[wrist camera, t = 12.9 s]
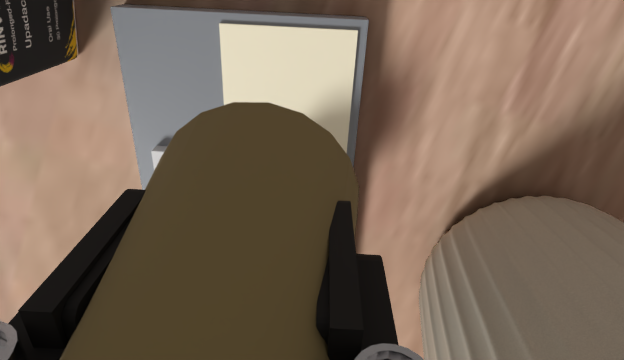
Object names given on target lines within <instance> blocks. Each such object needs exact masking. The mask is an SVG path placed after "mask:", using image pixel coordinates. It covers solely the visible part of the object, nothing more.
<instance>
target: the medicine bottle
mask: <svg viewBox="0 0 624 360" xmlns="http://www.w3.org/2000/svg"><path fill="white" fill-rule="evenodd" d="M77 56H78V42H77V31H76V19H75V8H74V0H0V86H3V85H5V84H8V83H11V82H14V81H16V80H19V79H22V78H24V77H27V76H30V75H32V74H35V73H38V72H41V71H43V70H46V69H49V68H51V67H54V66H57V65H59V64H62V63H65V62H68V61H70V60H73V59H75V58H76V57H77Z"/></svg>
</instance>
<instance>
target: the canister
mask: <svg viewBox="0 0 624 360" xmlns="http://www.w3.org/2000/svg"><path fill="white" fill-rule="evenodd" d="M419 309H420V320H421V331H422V342H423V352H424V360H624V223H623V222H622V221H620V220H618V219H617V218H615V217H613V216H611V215H609V214H607V213H605V212H603V211H600V210H598V209H597V208H595V207H593V206H590V205H588V204H585V203H581V202H575V201H573V200H571V199H567V198H562V197H561V198H554V197H551V196H546V195H545V196H539V197H533V196H525V197H522V198H517V199H514V198H509V199H508V200H506V201H503V202H499V203H493V204H492V205H490V206H487V207H485V208H480V209H478V210H477V211H476V212H475V213H473V214H471V215H469V216H465V217H464V219H463V220H461V221H460V222H459V223H457V224H455V225H453V226H452V228H451V229H450V231H448V232H447V233H446V234H444V235H443V236H442V237H441V239H440V241H439V243H438V244H436V245H435V246H434V247H433V249H432V252H431V255H430V256H429V257H428V258H427V260H426V263H425V268H424V270H423V272H422V275H421V281H420V290H419Z"/></svg>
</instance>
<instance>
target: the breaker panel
mask: <svg viewBox="0 0 624 360" xmlns="http://www.w3.org/2000/svg"><path fill="white" fill-rule="evenodd" d="M110 8H111V14H112V19H113V25H114V31H115V36H116V42H117V48H118V53H119V59H120V65H121V71H122V76H123V82H124V88H125V93H126V99H127V105H128V110H129V116H130V122H131V128H132V133H133V139H134V145H135V150H136V156H137V162H138V167H139V173H140V179H141V185H142V190H145V188H146V186H147V184H148V182H149V180H150V178H151V176H152V174H153V172H154V170H155V168H156V166H157V164H158V162H159V160H160V158H161V156H162V155H163V153H164V151H165V150H166V148H167V146H168V145H169V143H170V141H171V140H172V138H173V136H174V135H175V133H176V132H177V131H178V130H179V129H180V128H182V127H183V126H184V125H186V124H187V123H188V122H189V121H191V120H192V119H193V118H195V117H196V116H197V115H199V114H200V113H201V112H204V111H207V110H211V109H214V108H217V107H220V106H223V105H226V104H229V103H232V102H269V103H272V104H275V105H278V106H281V107H285V108H288V109H291V110H294V111H297V112H300V113H303V114H304V115H306V116H307V117H309V118H310V119H312V120H313V121H314V122H316V123H317V124H319V125H320V126H322V127H323V128H325V129H326V130H327V131H329V132H330V133H331V134H332V135H333V136H334V138H335V139H336V140H337V142H338V143H339V144H340V146H341V147H342V148H343V150H344V151H345V152H346V154H347V155H348V156H349V158H350V160H351V163H352V166H353V167H354V157H355V147H356V138H357V128H358V118H359V109H360V99H361V89H362V80H363V70H364V60H365V51H366V41H367V32H368V22H369V20H368V19H367V17H361V16H341V15H322V14H303V13H283V12H264V11H244V10H225V9H206V8H186V7H167V6H147V5H128V4H122V5H117V6H112V7H110Z"/></svg>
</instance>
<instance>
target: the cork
mask: <svg viewBox="0 0 624 360" xmlns="http://www.w3.org/2000/svg"><path fill="white" fill-rule="evenodd" d="M145 190H146V191H145V193H144V195H143V197H142V199H141V201H140V203H139V205H138V207H137V209H136V211H135V213H134V215H133V217H132V219H131V221H130V223H129V225H128V227H127V229H126V231H125V233H124V235H123V237H122V239H121V241H120V243H119V245H118V248H117V250H116V252H115V254H114V256H113V258H112V260H111V262H110V263H109V265H108V267H107V269H106V271H105V273H104V275H103V277H102V279H101V281H100V283H99V285H98V287H97V289H96V291H95V293H94V294H93V296H92V298H91V300H90V302H89V304H88V306H87V308H86V310H85V312H84V314H83V316H82V318H81V320H80V322H79V324H78V325H77V327H76V329H75V331H74V332H73V334H72V336H71V338H70V340H69V342H68V344H67V346H66V348H65V349H64V351H63V353H62V355H61V357H60V359H59V360H329V358H328V355H327V353H328V346H327V344H326V342H325V340H324V339H323V338H322V336H321V335H320V333H319V331H318V330H317V327H316V315H317V299H318V295H319V291H320V287H321V283H322V280H323V276H324V272H325V268H326V264H327V260H328V256H329V229H330V225H331V222H332V218H333V215H334V211H335V207H336V204H337V202H338V201H351V210H352V220H353V229H354V239H355V231H356V222H357V212H358V195H359V185H358V182H357V179H356V176H355V172H354V169H353V166H352V163H351V160H350V158H349V156H348V155H347V154H346V152H345V151H344V150H343V148H342V147H341V146H340V144H339V143H338V142H337V140H336V139H335V138H334V136H333V135H332V134H331V133H330V132H329V131H327V130H326V129H325V128H323V127H322V126H320V125H319V124H317V123H316V122H314V121H313V120H312V119H310V118H309V117H307V116H306V115H304V114H303V113H300V112H297V111H294V110H291V109H288V108H285V107H281V106H278V105H275V104H272V103H269V102H232V103H229V104H226V105H223V106H220V107H217V108H214V109H211V110H207V111H204V112H201V113H200V114H199V115H197V116H196V117H195V118H193V119H192V120H191V121H189V122H188V123H187V124H186V125H184V126H183V127H182V128H180V129H179V130H178V131H177V132H176V133H175V135H174V136H173V138H172V140H171V141H170V143H169V145H168V146H167V148H166V150H165V151H164V153H163V155H162V156H161V158H160V160H159V162H158V164H157V166H156V168H155V170H154V172H153V174H152V176H151V178H150V180H149V182H148V184H147V186H146V188H145Z"/></svg>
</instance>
